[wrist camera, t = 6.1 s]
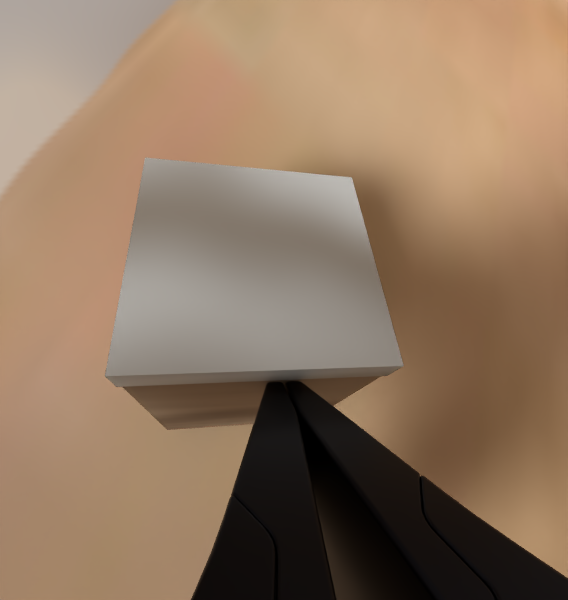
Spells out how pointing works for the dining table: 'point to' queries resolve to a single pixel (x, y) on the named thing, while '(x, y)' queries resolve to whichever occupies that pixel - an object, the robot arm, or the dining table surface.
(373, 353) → the polished metal block
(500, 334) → the dining table surface
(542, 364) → the dining table surface
